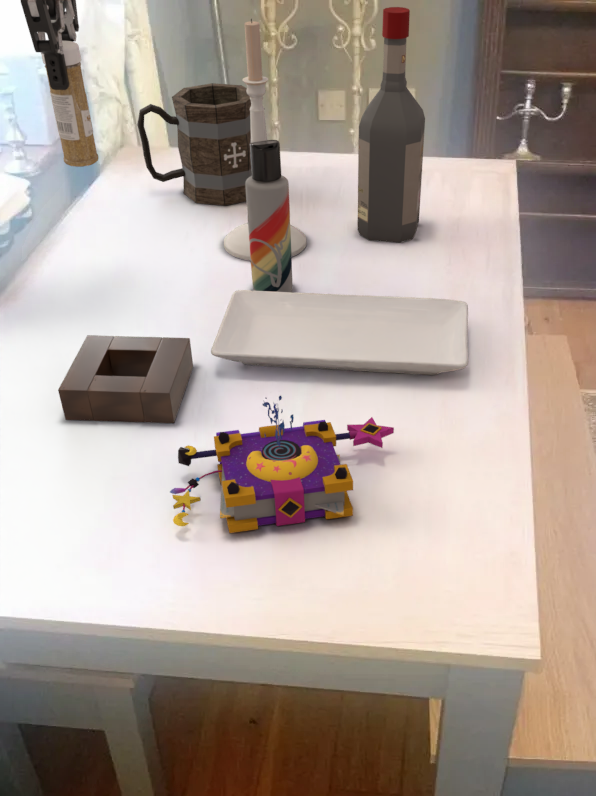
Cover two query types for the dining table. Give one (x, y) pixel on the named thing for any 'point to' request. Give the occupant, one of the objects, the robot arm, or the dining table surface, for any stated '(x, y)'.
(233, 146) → the mug
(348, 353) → the tray
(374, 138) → the liquor
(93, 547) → the dining table surface
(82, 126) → the sprinkles bottle
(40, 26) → the robot arm
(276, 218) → the lotion bottle
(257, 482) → the book
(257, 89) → the candlestick
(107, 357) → the hollow square block
